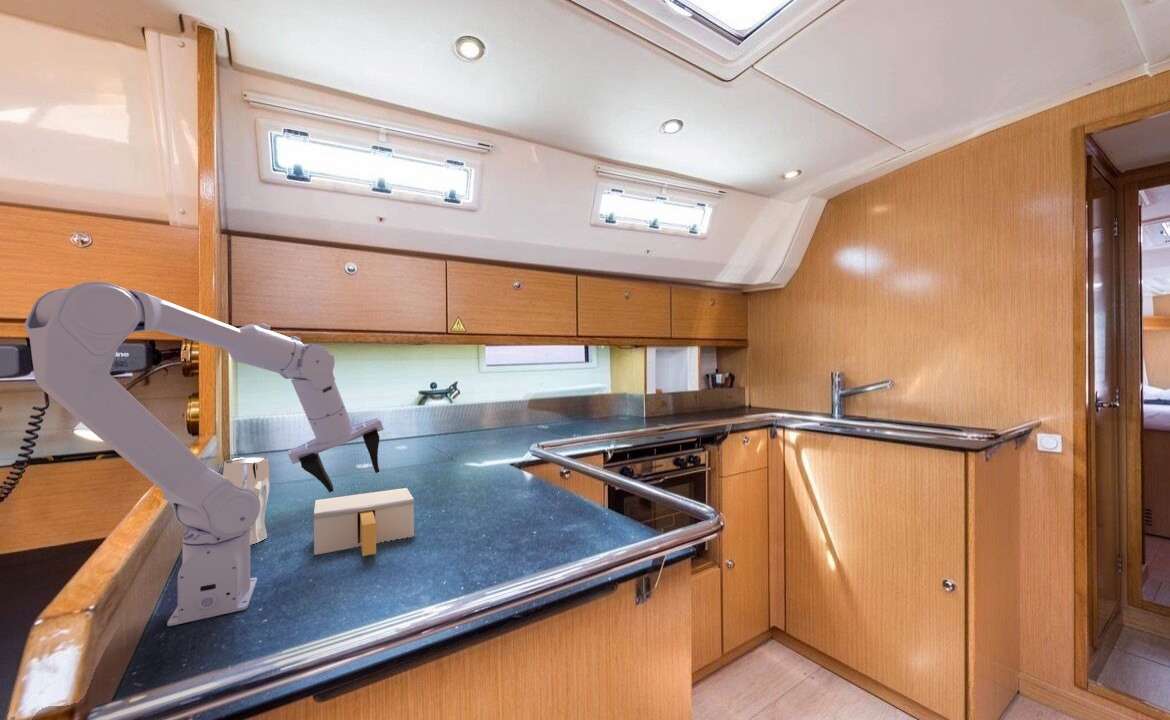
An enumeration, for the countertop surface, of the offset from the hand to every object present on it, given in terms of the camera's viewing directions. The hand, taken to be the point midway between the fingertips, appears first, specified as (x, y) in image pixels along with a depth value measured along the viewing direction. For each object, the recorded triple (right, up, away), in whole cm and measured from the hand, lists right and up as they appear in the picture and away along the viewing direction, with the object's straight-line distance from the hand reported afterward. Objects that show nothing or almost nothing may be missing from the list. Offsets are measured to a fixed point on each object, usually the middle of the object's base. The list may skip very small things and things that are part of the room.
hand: (354, 479), depth 80 cm
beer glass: (-21, -12, +2) cm, 24 cm away
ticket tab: (+2, -11, -1) cm, 11 cm away
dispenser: (0, -12, +4) cm, 12 cm away
